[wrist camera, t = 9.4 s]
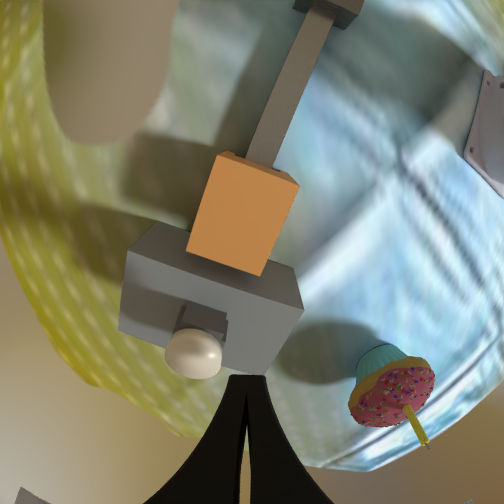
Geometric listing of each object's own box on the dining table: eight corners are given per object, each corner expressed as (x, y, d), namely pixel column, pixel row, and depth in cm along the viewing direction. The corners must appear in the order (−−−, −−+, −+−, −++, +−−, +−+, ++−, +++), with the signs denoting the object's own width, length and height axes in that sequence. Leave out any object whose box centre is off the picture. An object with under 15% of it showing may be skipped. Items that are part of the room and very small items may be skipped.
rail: (302, -10, 11) (309, -30, 8) (351, 11, 11) (366, -5, 9) (194, 254, 19) (185, 274, 16) (243, 271, 19) (241, 293, 17)
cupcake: (346, 335, 22) (388, 456, 11) (425, 322, 22) (484, 415, 11) (333, 392, 25) (355, 490, 14) (402, 379, 25) (437, 462, 14)
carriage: (226, 150, 16) (217, 154, 12) (288, 173, 16) (299, 186, 12) (201, 223, 17) (185, 251, 13) (258, 243, 18) (259, 276, 14)
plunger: (182, 300, 14) (169, 333, 12) (232, 316, 14) (228, 351, 12) (172, 336, 15) (161, 368, 13) (217, 350, 15) (212, 384, 13)
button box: (154, 219, 18) (109, 264, 11) (293, 268, 19) (309, 331, 13) (140, 289, 20) (104, 347, 14) (261, 329, 21) (263, 397, 15)
